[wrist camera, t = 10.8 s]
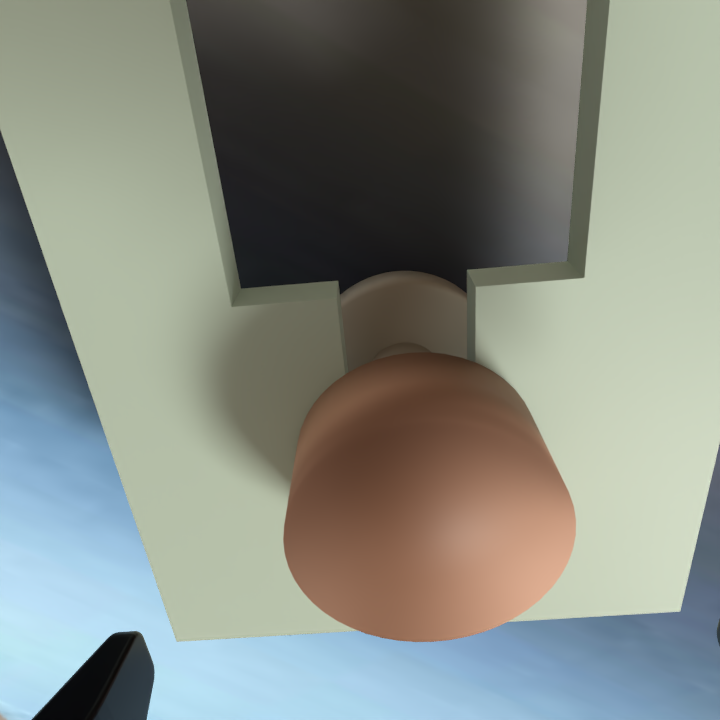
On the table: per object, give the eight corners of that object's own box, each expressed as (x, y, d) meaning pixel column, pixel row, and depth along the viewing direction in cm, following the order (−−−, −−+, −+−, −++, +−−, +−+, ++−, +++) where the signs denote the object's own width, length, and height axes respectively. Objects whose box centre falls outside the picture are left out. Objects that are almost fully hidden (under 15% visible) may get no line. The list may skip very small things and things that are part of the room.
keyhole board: (679, -239, 12) (935, -480, 7) (595, 465, 20) (679, 611, 15) (61, -168, 13) (-162, -338, 7) (223, 491, 21) (176, 641, 15)
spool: (492, 262, 16) (588, 410, 9) (489, 423, 18) (565, 634, 12) (302, 278, 16) (260, 434, 9) (323, 435, 18) (303, 649, 12)
